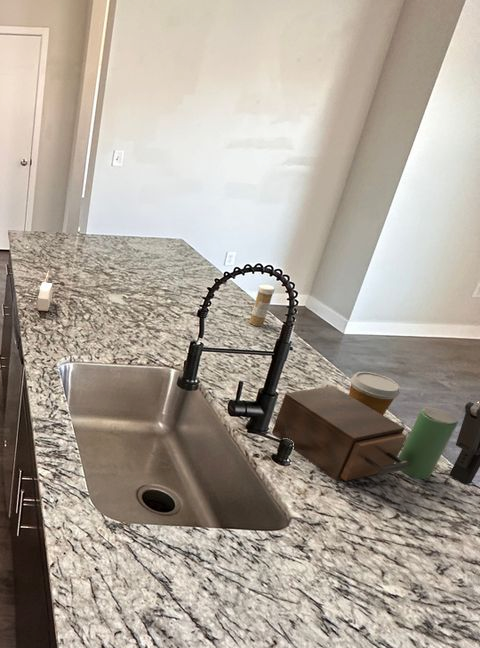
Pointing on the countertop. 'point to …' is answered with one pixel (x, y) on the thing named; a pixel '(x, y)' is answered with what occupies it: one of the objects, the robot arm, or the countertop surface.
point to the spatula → (45, 295)
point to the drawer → (375, 457)
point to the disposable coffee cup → (373, 390)
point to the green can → (427, 441)
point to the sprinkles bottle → (261, 305)
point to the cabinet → (328, 426)
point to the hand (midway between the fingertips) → (459, 479)
